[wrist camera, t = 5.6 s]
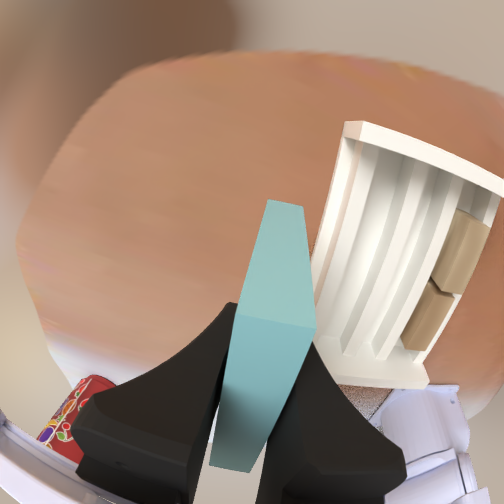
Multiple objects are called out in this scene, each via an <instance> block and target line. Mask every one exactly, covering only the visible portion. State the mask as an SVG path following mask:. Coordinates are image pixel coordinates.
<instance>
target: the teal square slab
mask: <svg viewBox="0 0 504 504" xmlns="http://www.w3.org/2000/svg"><path fill="white" fill-rule="evenodd" d="M316 330H317V326H316V315H315V304H314V294H313V284H312V275H311V266H310V257H309V249H308V241H307V233H306V226H305V218H304V211H303V206H299V205H294V204H289V203H285V202H280V201H275V200H271V199H268V202H267V205H266V209H265V212H264V216H263V219H262V223H261V226H260V230H259V233H258V237H257V240H256V243H255V247H254V250H253V254H252V257H251V261H250V264H249V268H248V271H247V275H246V278H245V282H244V285H243V289H242V292H241V296H240V299H239V303H238V306H237V310H236V313H235V319H234V324H233V330H232V336H231V341H230V347H229V353H228V358H227V364H226V369H225V375H224V381H223V387H222V392H221V398H220V404H219V409H218V415H217V421H216V427H215V433H214V438H213V445H212V450H211V456H210V462H209V465H210V466H215V467H220V468H224V469H229V470H235V471H240V472H246V473H249V472H250V471H251V469H252V467H253V465H254V464H255V462H256V460H257V458H258V456H259V454H260V452H261V451H262V449H263V447H264V445H265V443H266V441H267V439H268V437H269V435H270V433H271V431H272V429H273V427H274V425H275V423H276V421H277V419H278V417H279V415H280V413H281V411H282V408H283V406H284V404H285V402H286V400H287V398H288V396H289V393H290V391H291V389H292V387H293V385H294V382H295V380H296V378H297V375H298V373H299V371H300V369H301V366H302V364H303V362H304V359H305V357H306V354H307V352H308V350H309V347H310V345H311V342H312V340H313V337H314V335H315V332H316Z"/></svg>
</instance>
